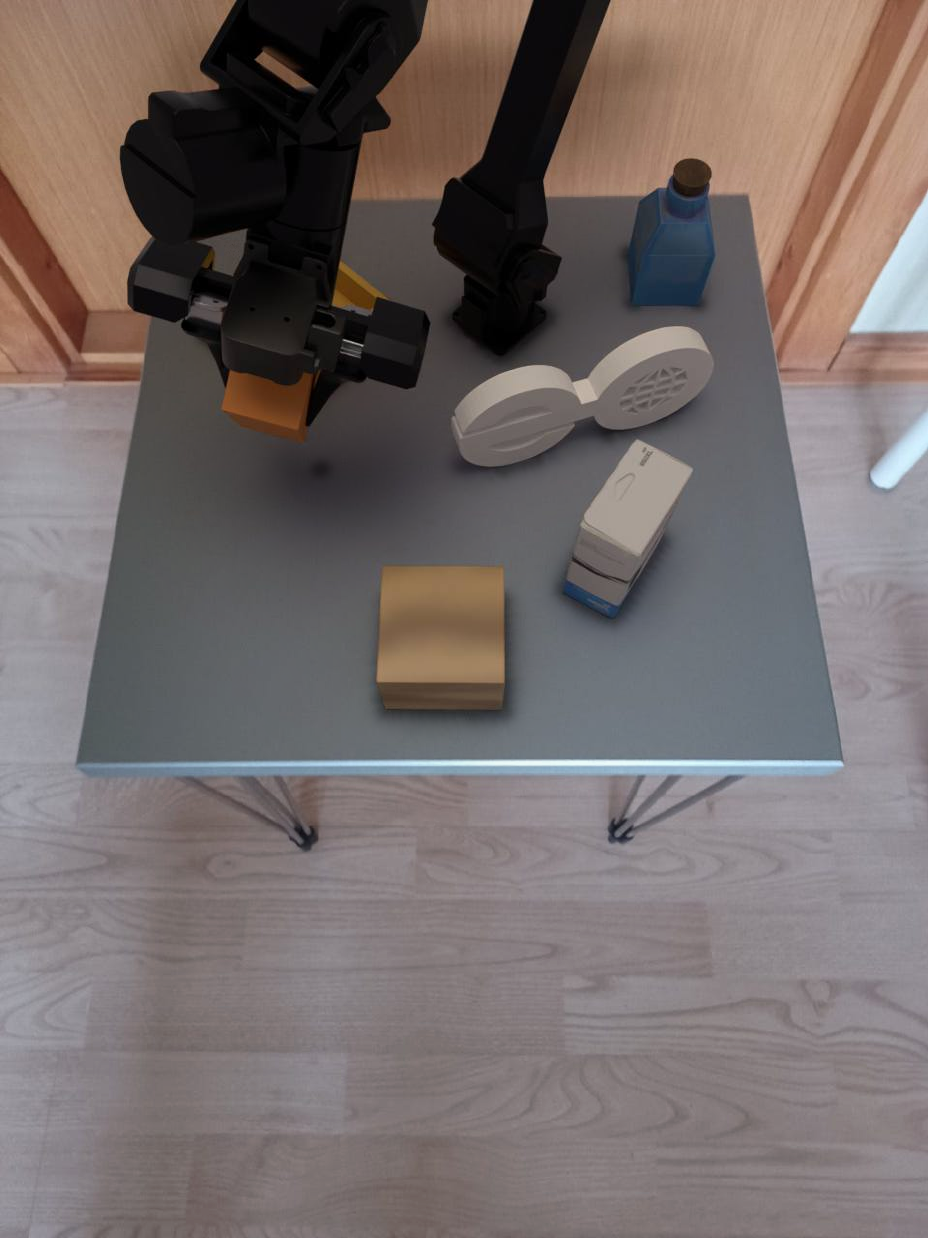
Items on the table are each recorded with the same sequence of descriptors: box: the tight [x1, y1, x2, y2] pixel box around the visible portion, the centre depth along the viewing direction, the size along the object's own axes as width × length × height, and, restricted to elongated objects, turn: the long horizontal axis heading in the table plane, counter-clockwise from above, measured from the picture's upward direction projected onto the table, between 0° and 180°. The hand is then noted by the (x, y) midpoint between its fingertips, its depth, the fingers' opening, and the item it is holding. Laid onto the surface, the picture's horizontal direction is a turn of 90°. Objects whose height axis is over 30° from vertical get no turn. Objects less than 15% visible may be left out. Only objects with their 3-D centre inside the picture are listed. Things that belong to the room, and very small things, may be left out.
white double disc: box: [450, 325, 715, 468], centre depth 71 cm, size 22×2×10 cm, turn 108°
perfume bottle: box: [627, 157, 716, 307], centre depth 76 cm, size 6×6×12 cm
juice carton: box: [221, 370, 318, 444], centre depth 61 cm, size 5×5×11 cm
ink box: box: [562, 438, 694, 619], centre depth 66 cm, size 8×5×12 cm, turn 148°
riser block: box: [375, 565, 506, 711], centre depth 65 cm, size 9×9×7 cm
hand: (271, 412), depth 63 cm, fingers closed on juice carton, 5 cm apart
